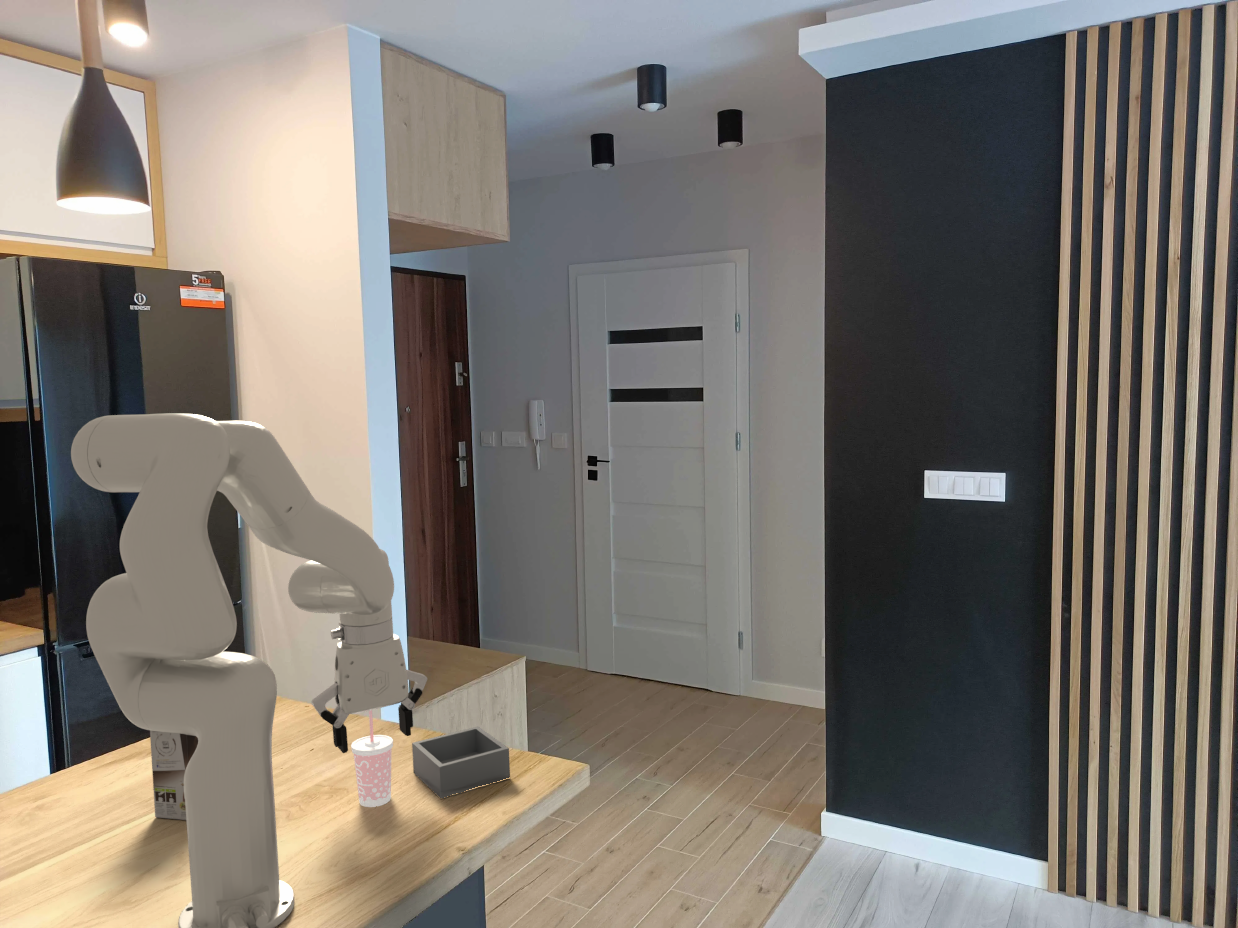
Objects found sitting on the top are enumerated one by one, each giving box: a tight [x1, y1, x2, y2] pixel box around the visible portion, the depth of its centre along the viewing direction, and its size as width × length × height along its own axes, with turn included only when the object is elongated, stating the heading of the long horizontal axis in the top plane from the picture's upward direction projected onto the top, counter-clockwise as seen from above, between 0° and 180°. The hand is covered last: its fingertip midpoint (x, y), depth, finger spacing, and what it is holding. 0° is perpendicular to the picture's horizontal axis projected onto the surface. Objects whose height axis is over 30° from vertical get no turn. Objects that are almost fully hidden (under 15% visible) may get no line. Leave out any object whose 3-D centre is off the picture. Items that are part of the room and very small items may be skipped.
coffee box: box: [149, 730, 198, 821], centre depth 133 cm, size 9×6×16 cm
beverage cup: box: [350, 710, 394, 808], centre depth 133 cm, size 6×6×14 cm
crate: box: [411, 726, 511, 799], centre depth 141 cm, size 12×12×5 cm
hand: (374, 741), depth 134 cm, fingers open, 9 cm apart
